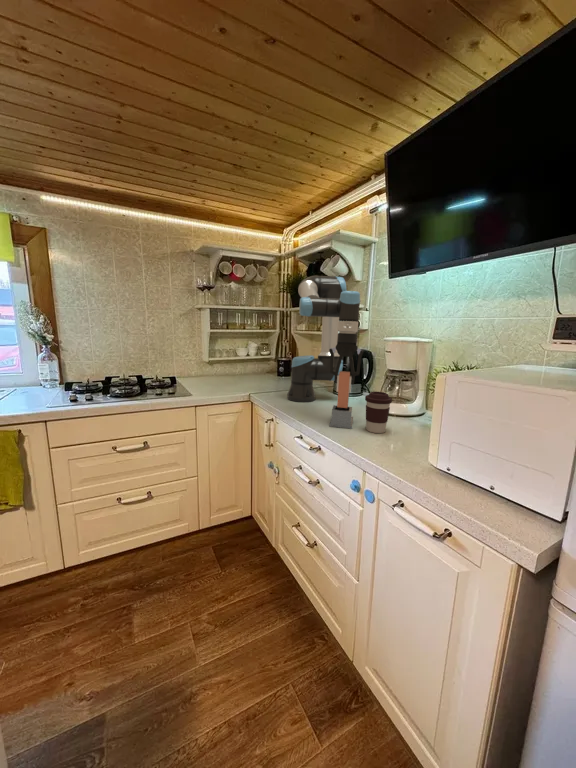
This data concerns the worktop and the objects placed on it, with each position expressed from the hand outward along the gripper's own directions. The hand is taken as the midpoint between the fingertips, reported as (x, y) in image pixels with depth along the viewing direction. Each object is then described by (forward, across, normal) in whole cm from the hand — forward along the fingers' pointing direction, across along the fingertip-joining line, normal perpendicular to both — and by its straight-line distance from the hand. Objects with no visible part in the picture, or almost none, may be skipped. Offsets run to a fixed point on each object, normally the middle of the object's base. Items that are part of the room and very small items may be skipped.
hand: (343, 391), depth 128 cm
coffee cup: (+14, +14, -2) cm, 20 cm away
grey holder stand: (+14, 0, +4) cm, 15 cm away
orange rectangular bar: (+6, 0, 0) cm, 6 cm away
